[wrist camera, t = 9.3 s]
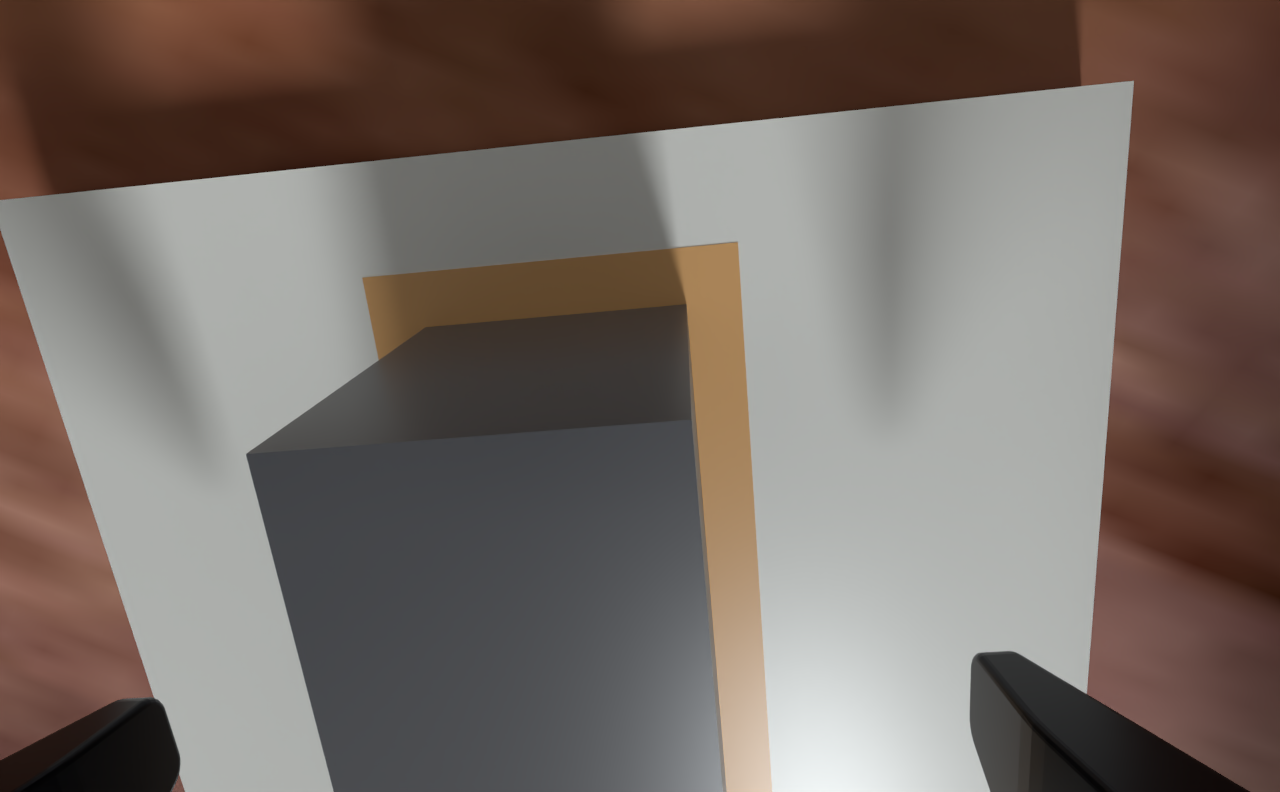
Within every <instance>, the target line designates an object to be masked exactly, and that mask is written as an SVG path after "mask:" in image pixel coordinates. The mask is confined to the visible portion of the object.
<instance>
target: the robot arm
mask: <svg viewBox="0 0 1280 792" xmlns="http://www.w3.org/2000/svg"><path fill="white" fill-rule="evenodd" d="M970 728H971V734H972V738H973V742H974V745H975V748H976V751H977V754H978V757H979V760H980V763H981V766H982V769H983V772H984V775H985V778H986V781H987V783H988V786H989V789H990V792H1250V791H1248V790H1246V789H1244V788H1243V787H1241V786H1239V785H1238V784H1236V783H1234V782H1233V781H1231V780H1229V779H1228V778H1226V777H1224V776H1223V775H1221V774H1219V773H1218V772H1216V771H1214V770H1213V769H1211V768H1209V767H1208V766H1206V765H1204V764H1203V763H1201V762H1199V761H1198V760H1196V759H1194V758H1193V757H1191V756H1189V755H1188V754H1186V753H1184V752H1183V751H1181V750H1179V749H1178V748H1176V747H1174V746H1173V745H1171V744H1169V743H1168V742H1166V741H1164V740H1163V739H1161V738H1159V737H1158V736H1156V735H1154V734H1153V733H1151V732H1149V731H1148V730H1146V729H1144V728H1143V727H1141V726H1139V725H1138V724H1136V723H1134V722H1132V721H1131V720H1129V719H1127V718H1126V717H1124V716H1122V715H1121V714H1119V713H1117V712H1116V711H1114V710H1112V709H1111V708H1109V707H1107V706H1106V705H1104V704H1102V703H1101V702H1099V701H1097V700H1096V699H1094V698H1092V697H1091V696H1089V695H1087V694H1086V693H1084V692H1082V691H1081V690H1079V689H1077V688H1076V687H1074V686H1072V685H1071V684H1069V683H1067V682H1066V681H1064V680H1062V679H1061V678H1059V677H1057V676H1056V675H1054V674H1052V673H1051V672H1049V671H1047V670H1046V669H1044V668H1042V667H1041V666H1039V665H1037V664H1036V663H1034V662H1032V661H1031V660H1029V659H1027V658H1026V657H1024V656H1022V655H1020V654H1018V653H1016V652H1013V651H998V652H981V653H977V654H976V655H975V656H974V657H973V659H972V663H971V680H970ZM180 764H181V762H180V754H179V750H178V747H177V744H176V741H175V738H174V735H173V732H172V729H171V725H170V722H169V719H168V716H167V713H166V710H165V708H164V705H163V704H162V703H161V702H160V701H159V700H158V699H155V698H152V697H149V698H130V699H121V700H117V701H115V702H113V703H111V704H109V705H107V706H105V707H103V708H101V709H99V710H97V711H95V712H93V713H91V714H89V715H87V716H86V717H84V718H82V719H80V720H78V721H76V722H74V723H72V724H70V725H68V726H66V727H64V728H62V729H60V730H58V731H56V732H55V733H53V734H51V735H49V736H47V737H45V738H43V739H41V740H39V741H37V742H35V743H33V744H31V745H29V746H27V747H26V748H24V749H22V750H20V751H18V752H16V753H14V754H12V755H10V756H8V757H6V758H4V759H2V760H0V792H172V790H173V788H174V786H175V783H176V781H177V779H178V775H179V772H180Z"/></svg>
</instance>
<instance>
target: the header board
mask: <svg viewBox="0 0 1280 792" xmlns="http://www.w3.org/2000/svg"><path fill="white" fill-rule="evenodd" d="M1133 86H1134V81H1127V82H1117V83H1108V84H1099V85H1089V86H1080V87H1070V88H1061V89H1051V90H1042V91H1032V92H1023V93H1013V94H1004V95H994V96H985V97H975V98H966V99H956V100H947V101H937V102H928V103H918V104H909V105H899V106H890V107H880V108H871V109H861V110H852V111H842V112H833V113H823V114H814V115H805V116H795V117H786V118H776V119H767V120H757V121H748V122H738V123H729V124H719V125H710V126H700V127H691V128H681V129H672V130H662V131H653V132H643V133H634V134H624V135H615V136H605V137H596V138H586V139H577V140H567V141H558V142H548V143H539V144H529V145H520V146H510V147H501V148H492V149H482V150H473V151H463V152H454V153H444V154H435V155H425V156H416V157H406V158H397V159H387V160H378V161H368V162H359V163H349V164H340V165H330V166H321V167H311V168H302V169H292V170H283V171H273V172H264V173H254V174H245V175H235V176H226V177H216V178H207V179H197V180H188V181H179V182H169V183H160V184H150V185H141V186H131V187H122V188H112V189H103V190H93V191H84V192H74V193H65V194H55V195H46V196H36V197H27V198H17V199H8V200H0V230H1V233H2V236H3V239H4V242H5V245H6V248H7V251H8V254H9V257H10V260H11V263H12V266H13V269H14V272H15V276H16V279H17V282H18V285H19V288H20V291H21V294H22V297H23V300H24V303H25V306H26V309H27V312H28V315H29V318H30V321H31V324H32V327H33V330H34V333H35V336H36V339H37V342H38V346H39V349H40V352H41V355H42V358H43V361H44V364H45V367H46V370H47V373H48V376H49V379H50V382H51V385H52V388H53V391H54V394H55V397H56V400H57V403H58V406H59V409H60V412H61V416H62V419H63V422H64V425H65V428H66V431H67V434H68V437H69V440H70V443H71V446H72V449H73V452H74V455H75V458H76V461H77V464H78V467H79V470H80V473H81V476H82V479H83V482H84V485H85V489H86V492H87V495H88V498H89V501H90V504H91V507H92V510H93V513H94V516H95V519H96V522H97V525H98V528H99V531H100V534H101V537H102V540H103V543H104V546H105V549H106V552H107V555H108V559H109V562H110V565H111V568H112V571H113V574H114V577H115V580H116V583H117V586H118V589H119V592H120V595H121V598H122V601H123V604H124V607H125V610H126V613H127V616H128V619H129V622H130V625H131V629H132V632H133V635H134V638H135V641H136V644H137V647H138V650H139V653H140V656H141V659H142V662H143V665H144V668H145V671H146V674H147V677H148V680H149V683H150V686H151V689H152V692H153V695H154V698H155V699H158V700H159V701H160V702H161V703H162V704H163V705H164V708H165V710H166V713H167V716H168V719H169V722H170V725H171V729H172V732H173V735H174V738H175V741H176V744H177V747H178V750H179V754H180V762H181V764H180V772H179V775H180V778H181V781H182V784H183V787H184V790H185V792H334V791H333V787H332V783H331V779H330V776H329V772H328V768H327V764H326V760H325V756H324V753H323V749H322V745H321V741H320V737H319V733H318V730H317V726H316V722H315V718H314V714H313V710H312V707H311V703H310V699H309V695H308V691H307V687H306V683H305V680H304V676H303V672H302V668H301V664H300V660H299V657H298V653H297V649H296V645H295V641H294V637H293V634H292V630H291V626H290V622H289V618H288V614H287V610H286V607H285V603H284V599H283V595H282V591H281V587H280V584H279V580H278V576H277V572H276V568H275V564H274V561H273V557H272V553H271V549H270V545H269V541H268V537H267V534H266V530H265V526H264V522H263V518H262V514H261V511H260V507H259V503H258V499H257V495H256V491H255V488H254V484H253V480H252V476H251V472H250V468H249V464H248V461H247V457H246V454H247V453H248V452H249V451H251V450H252V449H254V448H255V447H256V446H258V445H259V444H261V443H262V442H264V441H265V440H266V439H268V438H269V437H271V436H272V435H274V434H275V433H276V432H278V431H279V430H281V429H282V428H283V427H285V426H286V425H288V424H289V423H291V422H292V421H293V420H295V419H296V418H298V417H299V416H300V415H302V414H303V413H305V412H306V411H308V410H309V409H310V408H312V407H313V406H315V405H316V404H317V403H319V402H320V401H322V400H323V399H325V398H326V397H327V396H329V395H330V394H332V393H333V392H334V391H336V390H337V389H339V388H340V387H342V386H343V385H344V384H346V383H347V382H349V381H350V380H351V379H353V378H354V377H356V376H357V375H359V374H360V373H361V372H363V371H364V370H366V369H367V368H368V367H370V366H371V365H373V364H374V363H376V362H377V361H378V360H380V359H381V358H383V357H384V356H386V355H387V354H388V353H390V352H391V351H393V350H394V349H395V348H397V347H398V346H400V345H401V344H403V343H404V342H405V341H407V340H408V339H410V338H411V337H412V336H414V335H415V334H417V333H418V332H420V331H421V330H422V329H424V328H425V327H434V326H445V325H456V324H468V323H479V322H490V321H502V320H513V319H525V318H536V317H547V316H559V315H570V314H581V313H593V312H604V311H615V310H627V309H638V308H649V307H661V306H672V305H683V304H687V316H688V328H689V340H690V352H691V364H692V377H693V389H694V401H695V413H696V425H697V437H698V450H699V462H700V474H701V486H702V498H703V511H704V523H705V535H706V547H707V559H708V572H709V584H710V596H711V608H712V620H713V633H714V645H715V657H716V669H717V681H718V693H719V706H720V718H721V730H722V742H723V754H724V767H725V779H726V791H727V792H990V789H989V786H988V783H987V781H986V778H985V775H984V772H983V769H982V766H981V763H980V760H979V757H978V754H977V751H976V748H975V745H974V742H973V738H972V734H971V728H970V680H971V663H972V659H973V657H974V656H975V655H976V654H977V653H981V652H998V651H1013V652H1016V653H1018V654H1020V655H1022V656H1024V657H1026V658H1027V659H1029V660H1031V661H1032V662H1034V663H1036V664H1037V665H1039V666H1041V667H1042V668H1044V669H1046V670H1047V671H1049V672H1051V673H1052V674H1054V675H1056V676H1057V677H1059V678H1061V679H1062V680H1064V681H1066V682H1067V683H1069V684H1071V685H1072V686H1074V687H1076V688H1077V689H1079V690H1081V691H1082V692H1084V693H1086V694H1087V683H1088V670H1089V657H1090V644H1091V631H1092V618H1093V605H1094V592H1095V579H1096V566H1097V553H1098V540H1099V527H1100V514H1101V501H1102V489H1103V476H1104V463H1105V450H1106V437H1107V424H1108V411H1109V398H1110V385H1111V372H1112V359H1113V346H1114V333H1115V320H1116V307H1117V294H1118V281H1119V268H1120V255H1121V242H1122V229H1123V216H1124V203H1125V190H1126V177H1127V164H1128V151H1129V138H1130V125H1131V112H1132V99H1133Z"/></svg>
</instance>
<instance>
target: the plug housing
mask: <svg viewBox="0 0 1280 792" xmlns="http://www.w3.org/2000/svg"><path fill="white" fill-rule="evenodd" d="M246 457H247V461H248V464H249V468H250V472H251V476H252V480H253V484H254V488H255V491H256V495H257V499H258V503H259V507H260V511H261V514H262V518H263V522H264V526H265V530H266V534H267V537H268V541H269V545H270V549H271V553H272V557H273V561H274V564H275V568H276V572H277V576H278V580H279V584H280V587H281V591H282V595H283V599H284V603H285V607H286V610H287V614H288V618H289V622H290V626H291V630H292V634H293V637H294V641H295V645H296V649H297V653H298V657H299V660H300V664H301V668H302V672H303V676H304V680H305V683H306V687H307V691H308V695H309V699H310V703H311V707H312V710H313V714H314V718H315V722H316V726H317V730H318V733H319V737H320V741H321V745H322V749H323V753H324V756H325V760H326V764H327V768H328V772H329V776H330V779H331V783H332V787H333V791H334V792H727V791H726V779H725V767H724V754H723V742H722V730H721V718H720V706H719V693H718V681H717V669H716V657H715V645H714V633H713V620H712V608H711V596H710V584H709V572H708V559H707V547H706V535H705V523H704V511H703V498H702V486H701V474H700V462H699V450H698V437H697V425H696V413H695V401H694V389H693V377H692V364H691V352H690V340H689V328H688V316H687V304H683V305H672V306H661V307H649V308H638V309H627V310H615V311H604V312H593V313H581V314H570V315H559V316H547V317H536V318H525V319H513V320H502V321H490V322H479V323H468V324H456V325H445V326H434V327H425V328H424V329H422V330H421V331H420V332H418V333H417V334H415V335H414V336H412V337H411V338H410V339H408V340H407V341H405V342H404V343H403V344H401V345H400V346H398V347H397V348H395V349H394V350H393V351H391V352H390V353H388V354H387V355H386V356H384V357H383V358H381V359H380V360H378V361H377V362H376V363H374V364H373V365H371V366H370V367H368V368H367V369H366V370H364V371H363V372H361V373H360V374H359V375H357V376H356V377H354V378H353V379H351V380H350V381H349V382H347V383H346V384H344V385H343V386H342V387H340V388H339V389H337V390H336V391H334V392H333V393H332V394H330V395H329V396H327V397H326V398H325V399H323V400H322V401H320V402H319V403H317V404H316V405H315V406H313V407H312V408H310V409H309V410H308V411H306V412H305V413H303V414H302V415H300V416H299V417H298V418H296V419H295V420H293V421H292V422H291V423H289V424H288V425H286V426H285V427H283V428H282V429H281V430H279V431H278V432H276V433H275V434H274V435H272V436H271V437H269V438H268V439H266V440H265V441H264V442H262V443H261V444H259V445H258V446H256V447H255V448H254V449H252V450H251V451H249V452H248V453H247V454H246Z"/></svg>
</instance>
